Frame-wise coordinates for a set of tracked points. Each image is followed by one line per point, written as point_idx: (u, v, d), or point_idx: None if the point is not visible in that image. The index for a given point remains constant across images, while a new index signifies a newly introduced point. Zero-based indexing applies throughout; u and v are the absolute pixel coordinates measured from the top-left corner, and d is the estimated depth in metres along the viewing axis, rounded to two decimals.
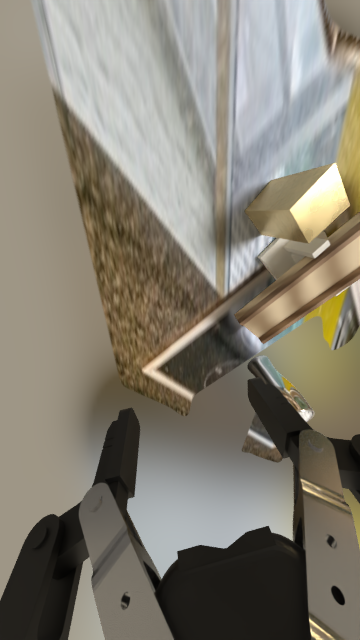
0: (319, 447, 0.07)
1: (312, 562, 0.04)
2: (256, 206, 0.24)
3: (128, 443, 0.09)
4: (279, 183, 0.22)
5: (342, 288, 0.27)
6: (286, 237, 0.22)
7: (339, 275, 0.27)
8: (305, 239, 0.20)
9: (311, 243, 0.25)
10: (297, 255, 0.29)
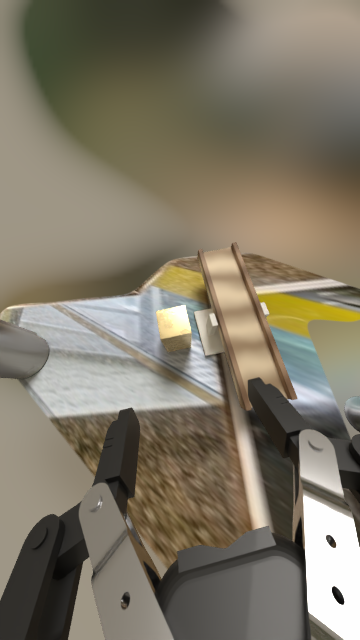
0: (319, 447, 0.07)
1: (312, 562, 0.04)
2: None
3: (127, 443, 0.09)
4: None
5: (260, 309, 0.30)
6: (188, 339, 0.30)
7: (248, 308, 0.31)
8: (187, 333, 0.27)
9: (209, 322, 0.32)
10: None
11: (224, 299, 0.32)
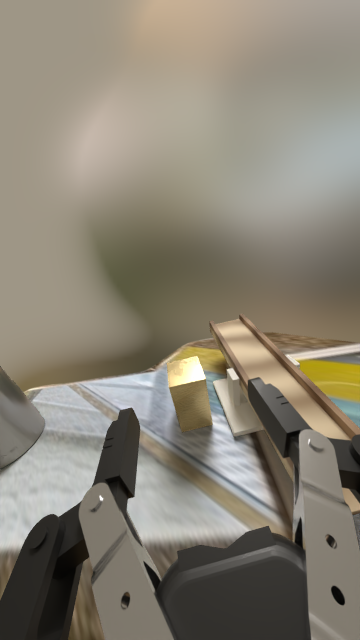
0: (319, 447, 0.07)
1: (312, 562, 0.04)
2: None
3: (128, 443, 0.09)
4: None
5: (286, 359, 0.26)
6: (205, 397, 0.24)
7: (271, 362, 0.27)
8: (201, 380, 0.23)
9: (229, 381, 0.27)
10: None
11: (242, 356, 0.30)
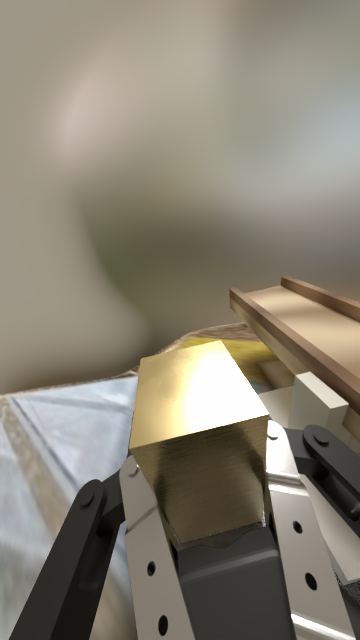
0: (273, 436, 0.08)
1: (312, 562, 0.04)
2: None
3: None
4: None
5: None
6: (255, 467, 0.07)
7: None
8: (252, 420, 0.06)
9: (303, 406, 0.11)
10: (343, 441, 0.11)
11: (318, 343, 0.13)
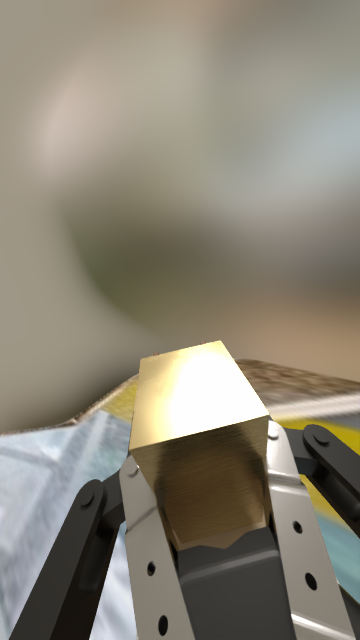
0: (273, 436, 0.08)
1: (312, 562, 0.04)
2: None
3: None
4: None
5: None
6: (255, 468, 0.07)
7: None
8: (252, 421, 0.06)
9: None
10: None
11: None
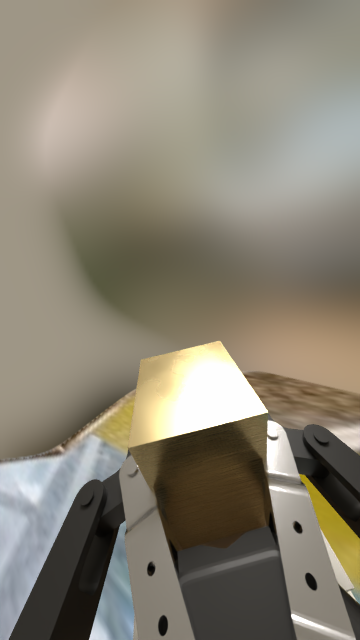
0: (273, 436, 0.08)
1: (312, 562, 0.04)
2: None
3: None
4: None
5: None
6: (256, 468, 0.07)
7: None
8: (251, 419, 0.06)
9: None
10: None
11: None
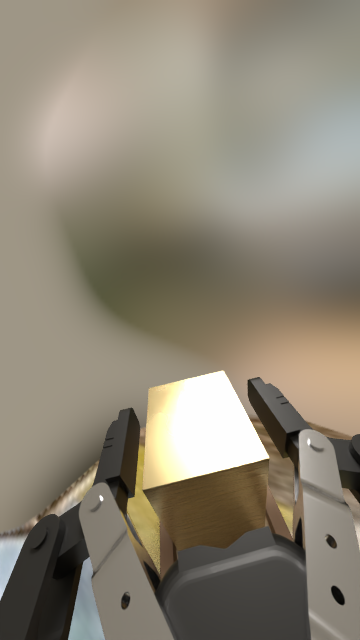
0: (319, 447, 0.07)
1: (312, 562, 0.04)
2: None
3: (128, 443, 0.09)
4: None
5: None
6: (257, 500, 0.08)
7: None
8: (254, 463, 0.07)
9: None
10: None
11: None
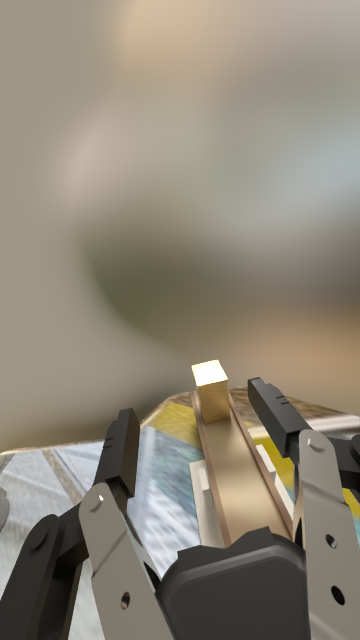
0: (319, 447, 0.07)
1: (312, 562, 0.04)
2: (202, 413, 0.31)
3: (128, 443, 0.09)
4: None
5: (260, 461, 0.24)
6: (226, 394, 0.29)
7: (246, 460, 0.25)
8: (223, 380, 0.27)
9: None
10: None
11: (217, 446, 0.28)
